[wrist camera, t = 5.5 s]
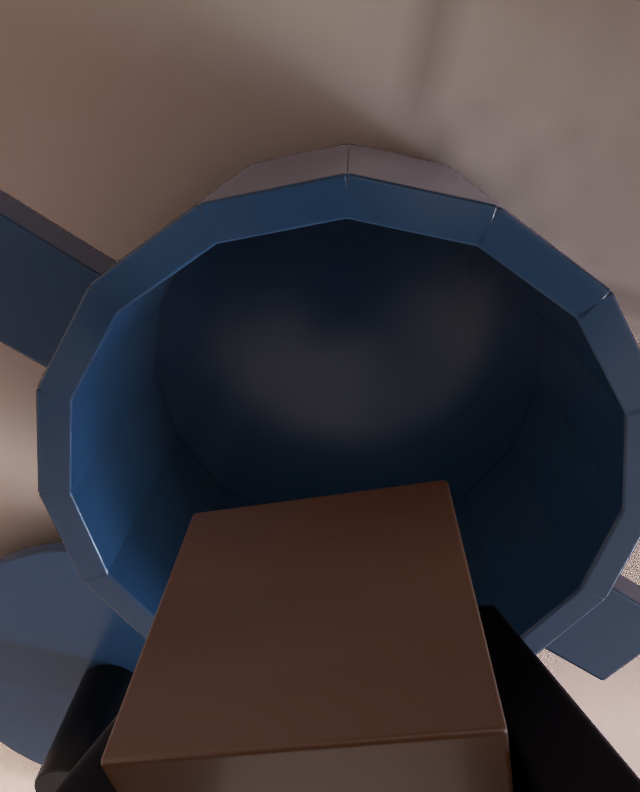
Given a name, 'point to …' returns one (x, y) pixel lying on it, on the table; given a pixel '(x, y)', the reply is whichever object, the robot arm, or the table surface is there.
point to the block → (316, 656)
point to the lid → (58, 661)
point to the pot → (339, 383)
